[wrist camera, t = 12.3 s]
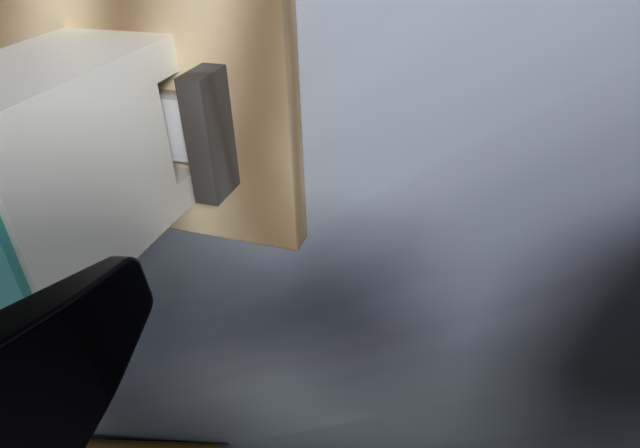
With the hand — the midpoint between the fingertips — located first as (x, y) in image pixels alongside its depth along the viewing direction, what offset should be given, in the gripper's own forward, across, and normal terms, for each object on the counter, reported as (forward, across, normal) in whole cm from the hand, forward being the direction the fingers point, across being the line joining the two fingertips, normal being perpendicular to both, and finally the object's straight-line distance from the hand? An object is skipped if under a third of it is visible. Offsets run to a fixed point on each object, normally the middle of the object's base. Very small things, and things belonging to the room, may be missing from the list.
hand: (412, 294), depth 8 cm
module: (+13, +13, +2) cm, 18 cm away
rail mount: (+14, +13, +2) cm, 19 cm away
